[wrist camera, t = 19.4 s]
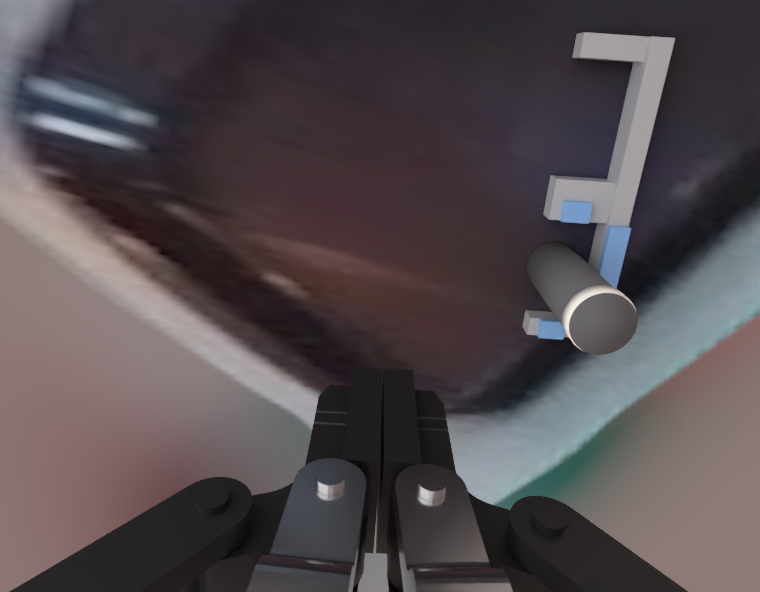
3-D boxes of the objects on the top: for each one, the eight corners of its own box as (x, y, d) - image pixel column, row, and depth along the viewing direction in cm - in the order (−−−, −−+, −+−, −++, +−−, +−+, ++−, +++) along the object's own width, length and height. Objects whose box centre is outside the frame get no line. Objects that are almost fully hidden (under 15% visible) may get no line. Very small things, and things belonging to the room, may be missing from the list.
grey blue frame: (576, 33, 36) (589, 30, 34) (660, 40, 36) (679, 37, 34) (522, 326, 45) (530, 340, 42) (591, 330, 45) (602, 344, 42)
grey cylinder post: (529, 238, 42) (576, 291, 32) (583, 242, 42) (646, 295, 32) (520, 288, 43) (562, 353, 33) (572, 292, 44) (629, 357, 33)
